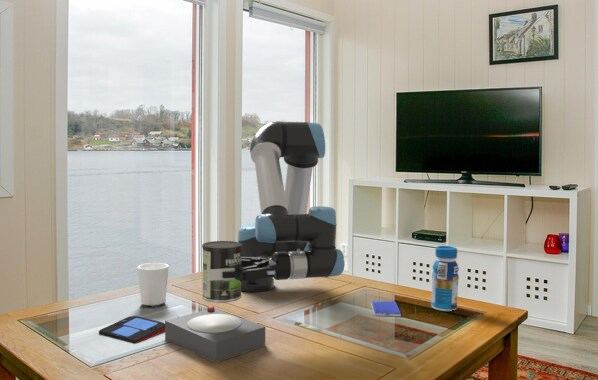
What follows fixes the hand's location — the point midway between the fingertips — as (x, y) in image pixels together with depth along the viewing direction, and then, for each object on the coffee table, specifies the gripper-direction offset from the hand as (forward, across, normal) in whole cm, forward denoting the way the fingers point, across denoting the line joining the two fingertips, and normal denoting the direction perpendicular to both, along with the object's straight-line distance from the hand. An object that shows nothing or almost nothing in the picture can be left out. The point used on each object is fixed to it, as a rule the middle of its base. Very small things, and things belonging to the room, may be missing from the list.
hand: (205, 269), depth 135 cm
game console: (+18, -14, +20) cm, 31 cm away
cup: (+12, -38, +20) cm, 45 cm away
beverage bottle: (-79, -11, +20) cm, 82 cm away
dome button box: (-2, 0, +20) cm, 20 cm away
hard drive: (-59, -14, +21) cm, 64 cm away
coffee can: (-4, 0, +8) cm, 9 cm away
